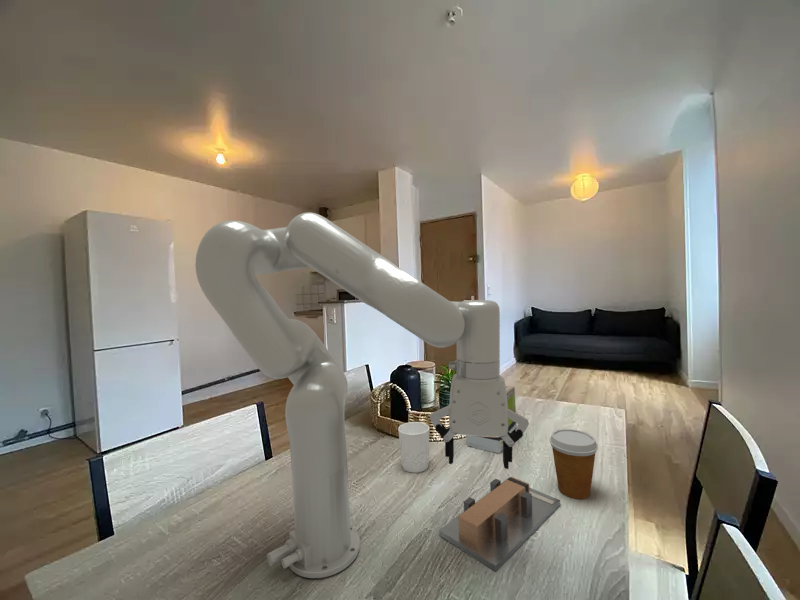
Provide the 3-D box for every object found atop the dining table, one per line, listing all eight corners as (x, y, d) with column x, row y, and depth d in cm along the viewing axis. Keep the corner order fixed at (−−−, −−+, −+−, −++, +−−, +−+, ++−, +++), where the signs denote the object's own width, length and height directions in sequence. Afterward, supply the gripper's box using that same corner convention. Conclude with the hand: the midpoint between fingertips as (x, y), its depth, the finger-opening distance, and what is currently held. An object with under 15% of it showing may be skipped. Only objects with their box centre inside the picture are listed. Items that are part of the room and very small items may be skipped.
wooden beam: (478, 549, 61) (477, 526, 61) (458, 537, 64) (458, 515, 64) (529, 503, 73) (529, 483, 73) (511, 494, 76) (511, 476, 76)
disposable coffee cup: (597, 509, 72) (596, 450, 72) (546, 496, 77) (545, 441, 77) (600, 485, 80) (599, 432, 80) (554, 475, 85) (553, 425, 85)
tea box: (486, 427, 114) (484, 381, 114) (517, 434, 108) (516, 386, 108) (465, 446, 102) (463, 394, 101) (499, 455, 96) (498, 400, 96)
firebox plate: (495, 571, 58) (495, 541, 57) (439, 535, 66) (438, 509, 66) (560, 504, 74) (559, 481, 74) (507, 482, 83) (507, 461, 83)
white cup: (428, 475, 87) (427, 435, 87) (397, 473, 89) (395, 433, 89) (432, 459, 95) (431, 422, 95) (403, 457, 97) (401, 421, 96)
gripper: (427, 372, 62) (428, 469, 63) (532, 376, 59) (531, 478, 60) (432, 363, 70) (432, 449, 71) (525, 366, 66) (525, 457, 67)
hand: (478, 462), depth 65 cm, fingers open, 9 cm apart
